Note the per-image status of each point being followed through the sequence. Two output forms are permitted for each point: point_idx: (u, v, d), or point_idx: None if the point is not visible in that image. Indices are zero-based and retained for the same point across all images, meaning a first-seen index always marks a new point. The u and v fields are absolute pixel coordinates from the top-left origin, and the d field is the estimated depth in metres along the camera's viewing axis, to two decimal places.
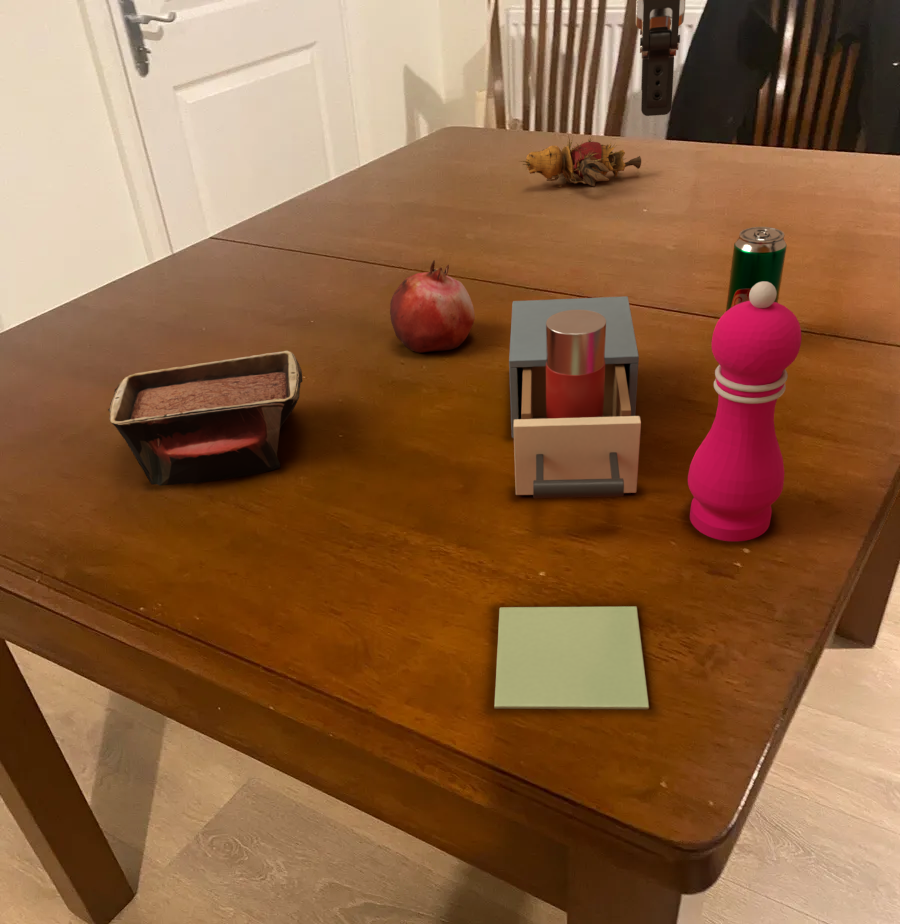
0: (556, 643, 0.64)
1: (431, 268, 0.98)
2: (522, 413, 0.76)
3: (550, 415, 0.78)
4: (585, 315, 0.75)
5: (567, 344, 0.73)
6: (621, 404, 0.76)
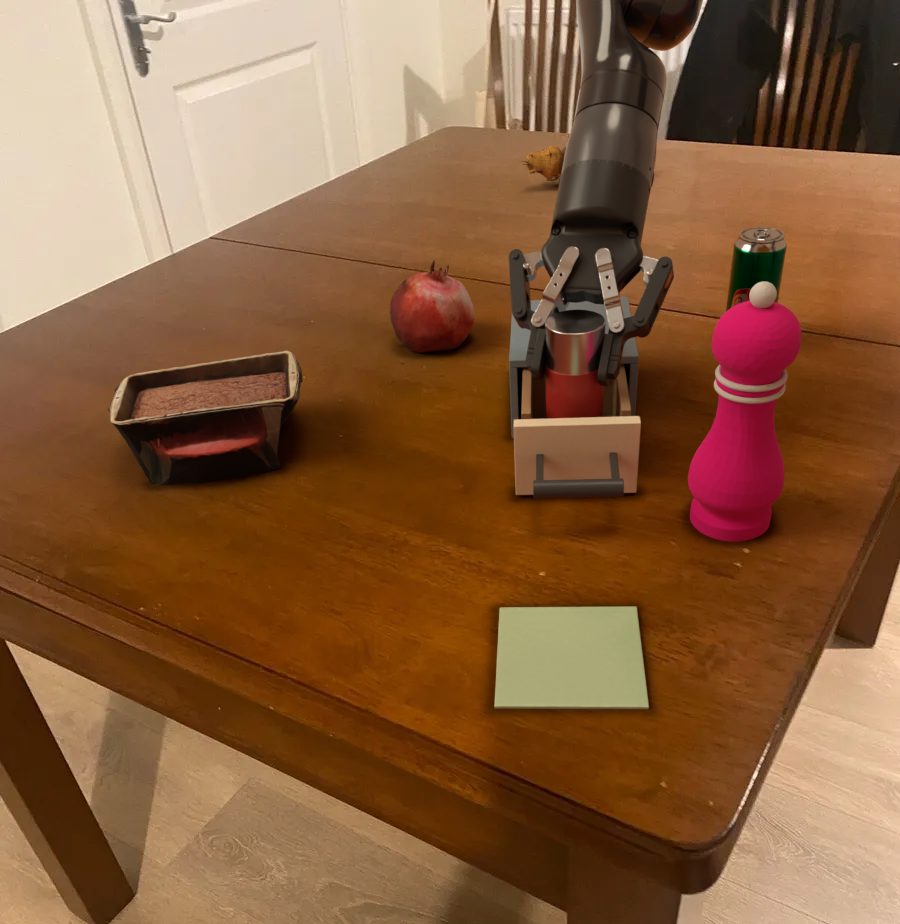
0: (556, 643, 0.64)
1: (431, 268, 0.98)
2: (522, 413, 0.76)
3: (549, 415, 0.78)
4: (584, 315, 0.75)
5: (566, 344, 0.73)
6: (621, 404, 0.76)
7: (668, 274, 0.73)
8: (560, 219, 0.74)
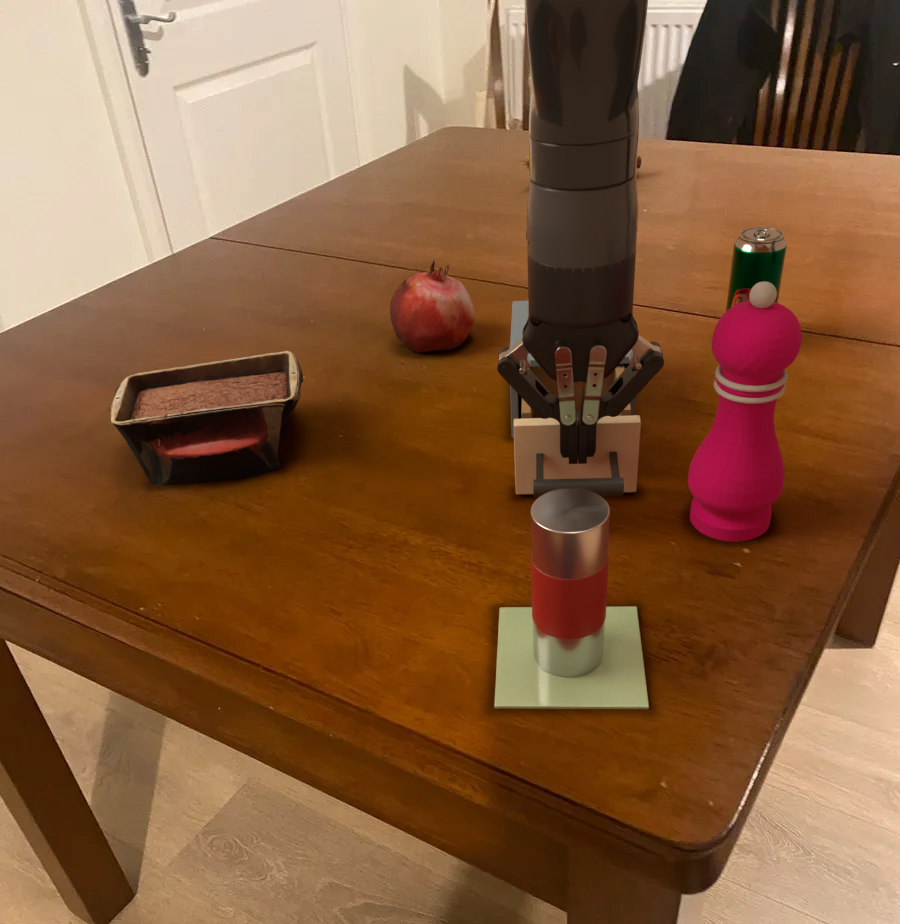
0: None
1: (431, 268, 0.98)
2: (522, 412, 0.76)
3: (536, 618, 0.60)
4: (582, 499, 0.56)
5: (558, 543, 0.55)
6: None
7: None
8: (544, 322, 0.65)
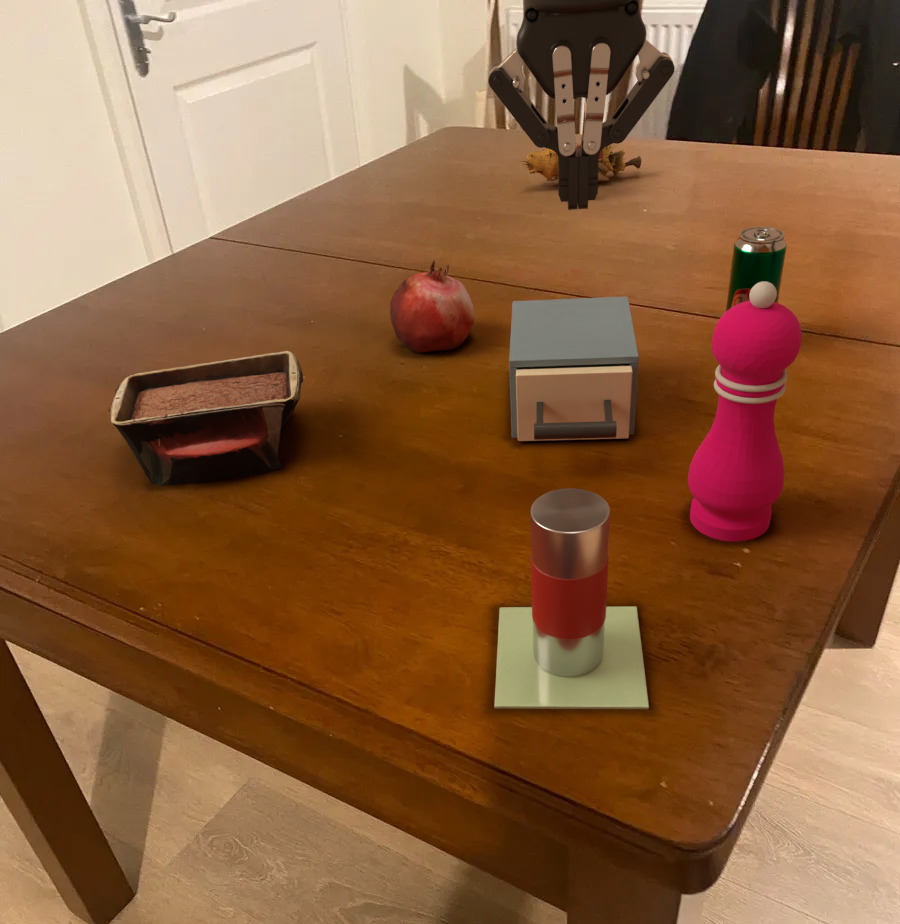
0: None
1: (431, 268, 0.98)
2: None
3: (536, 618, 0.60)
4: (582, 499, 0.56)
5: (558, 543, 0.55)
6: None
7: None
8: (540, 11, 0.58)
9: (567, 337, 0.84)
